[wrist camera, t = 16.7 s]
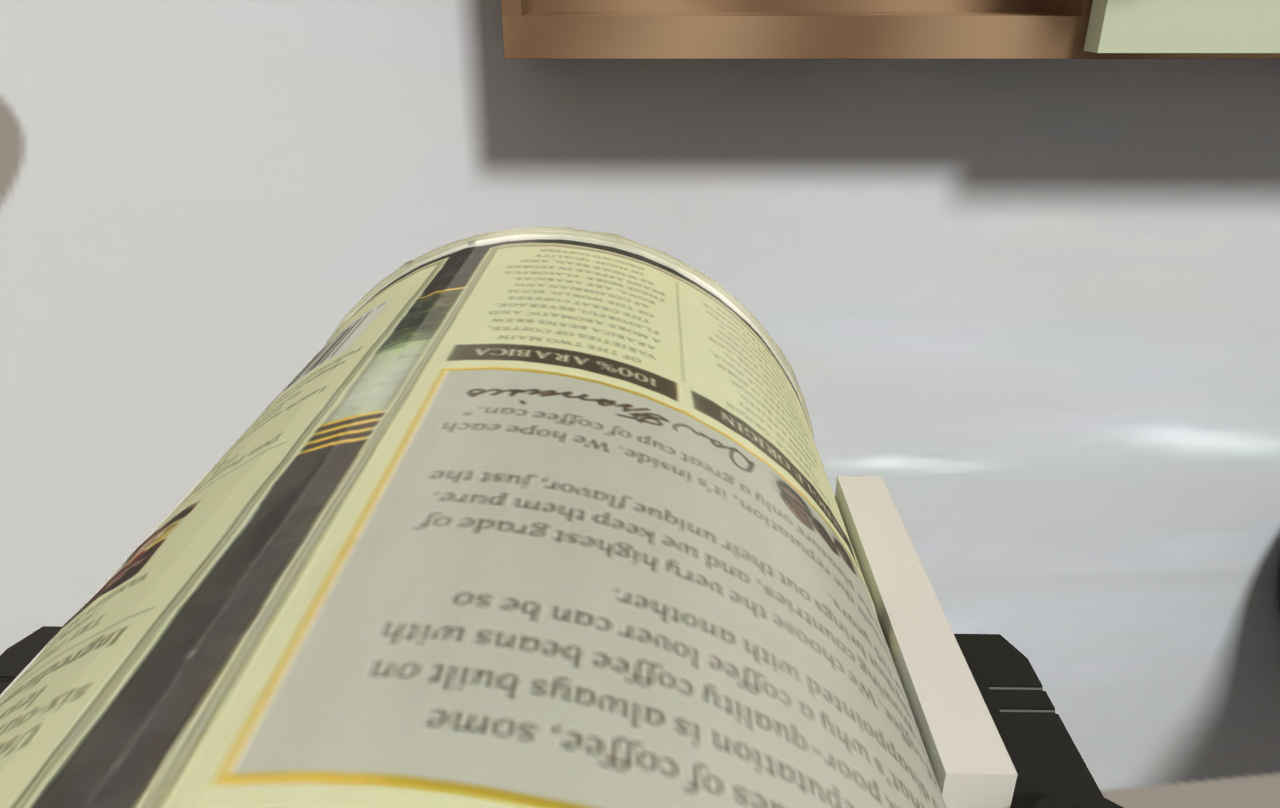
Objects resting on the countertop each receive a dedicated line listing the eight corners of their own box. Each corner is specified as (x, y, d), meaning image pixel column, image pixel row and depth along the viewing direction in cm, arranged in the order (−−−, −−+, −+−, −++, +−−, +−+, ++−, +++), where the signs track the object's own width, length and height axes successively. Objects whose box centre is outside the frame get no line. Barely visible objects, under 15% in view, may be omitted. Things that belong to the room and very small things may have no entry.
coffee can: (721, 728, 21) (819, 1891, 8) (267, 613, 20) (-440, 1747, 7) (907, 315, 17) (1683, 1350, 4) (349, 143, 16) (-973, 814, 3)
